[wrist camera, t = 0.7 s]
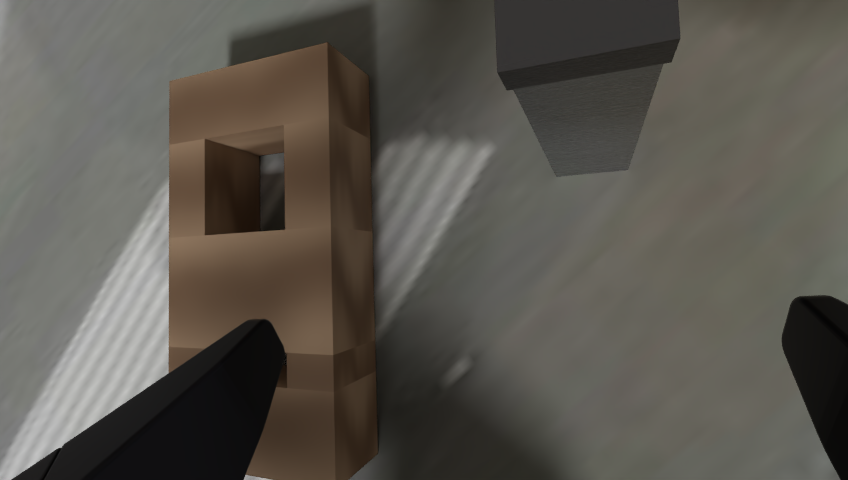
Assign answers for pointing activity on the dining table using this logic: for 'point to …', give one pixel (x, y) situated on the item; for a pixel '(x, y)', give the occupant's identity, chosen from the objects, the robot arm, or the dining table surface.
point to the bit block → (281, 246)
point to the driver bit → (585, 73)
